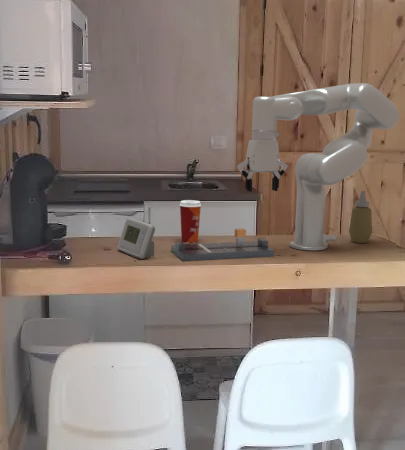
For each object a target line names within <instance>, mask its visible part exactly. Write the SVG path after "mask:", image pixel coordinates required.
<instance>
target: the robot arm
mask: <svg viewBox="0 0 405 450" xmlns="http://www.w3.org/2000/svg"><path fill="white" fill-rule="evenodd" d="M349 110H356V112H355V114H354V120H353V121H354V122H353V124H352V128H351V129H350V130H349V131H347V132H345V134H342V135H341V136H339V137H337V138H336V139H335V138H334V140H332V141H330V142H329V143H327V144H326V146H325V147H324V148H323V150H322V152H321V153H314V152H311V153H309V152H308V153H304V154H302V155H300V157H299V158H298V159H297V161H296V163H295V166H294V167H295V168H294V173H295V179H296V203H295V204H296V205H295V208H296V209H295V223H294V224H295V225H294V226H295V227H294V240H291V241H289V246H290V247H291V248H293V249H296V250H301V251H323V250H327V248H328V242H337V236H336V235H334V234H333V235H329V234H326V233H324V229H325V213H326V198H327V197H326V196H327V195H326V188H325V186H332V185H333V186H334V185H335V184H338V183H339V182H341V181H343V180H344V179H346V178H347V177H349V176H351V175H352V174H354V173H356V172H357V171H359V170H360V169H362V167H364V165H365V164H366V161H367V158H368V151H367V149H368V148H369V147H370V145H371V144H372V138H373V130H390V129H393V128H394V127H396V125H397V124H398V122H399V120H400V113H399V109H398V107H397V106H396V105H395V104H394V103H393V102H392V101H391V100H390V99H389V98H388V97H387V96H386V95H384V94H383V93H382V92H381V90H379V89H377V88H376V87H375V86H373V85H371V84H370V83H366V82H364V83H362V82H361V83H359V82H358V83H357V82H356V83H354V82H353V83H347V84H346V83H345V84H340V85H334V86H328V87H322V88H321V87H320V88H315V89H309V90H304V91H297V92H290V93H284V94H280V95H279V94H277V95H273V96H264V95H263V96H255V97H254V98H253V100H252V122H251V123H252V124H251V126H252V128H251V140H248V144H247V148H246V149H247V150H246V157H245V160H244V161H242V162H239V164H238V165H237V167H236V168H237V169H238V171H239V172H240V174H241V175H242V176H243V178H245V185H244V187H245V189H246V192H248V193H251V192H252V191H253V179H252V176H253V175H254V174H255V173H271V174H272V176H273V177H272V179H271V190H272V191H274V192H278V191H279V190H278V189H279V187H280V179H281V177H282V176H284V174H285V172H286V170H287V168H288V167H289V165H288V164H287V163H286V162H284V161H283V160H281V159H280V148H279V143H278V140H277V138H279V137H280V136H281V135H280V134H281V133H280V132H277V120H279V121H280V120H281V121H294V120H297V118H299V117H300V116H321V115H322V116H323V115H329V114H333V113H338V112H344V111H349ZM280 166H281V168H280ZM245 170H246V171H245Z"/></svg>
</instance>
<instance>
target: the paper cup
mask: <svg viewBox="0 0 405 450" xmlns="http://www.w3.org/2000/svg"><path fill="white" fill-rule="evenodd" d="M201 207H202V204H201V201H200V200H193V199H184V200H180V204H179V210H180V211H179V212H180V233H181V234H180V235H181V242H182V243H184V242H189V243H188V244H192V243H191V242H196V243H198V242H197V241H199V232H200V220H201Z"/></svg>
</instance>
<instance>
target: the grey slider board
mask: <svg viewBox="0 0 405 450" xmlns="http://www.w3.org/2000/svg"><path fill="white" fill-rule="evenodd" d="M170 247H171V251H170V252H172V253H173V254H175V256H176V257H177V258H179V259H180V260H181V261H182V262H192V261H193V260H195V261H211V260H228V259H245V258H247V259H248V258H264V257H265V258H268V257H269V258H270V257H274V256H275V249H273V248H271V247H270V246H269V240H268V239H266V238H264V237H260V238H257V240H246V241H245V240H244V246H237V245H236V241H228V242H227V241H226V242H210V243H209V242H207V243H205V242H204V243H203V242H202V243H184V242H182V241H176V242H175V244H171V246H170Z"/></svg>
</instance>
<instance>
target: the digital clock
mask: <svg viewBox="0 0 405 450" xmlns="http://www.w3.org/2000/svg"><path fill="white" fill-rule="evenodd" d="M155 231H156V227H155V225H153V224H150V223H148V222H146V221H144V220H143V221H142V220H140V219H137V218H132V217H129V218H126V220H125V222H124V225H123V228H122V231H121V233H120V234H121V235H120V237H119V241H118V244H117V248H118V250H119V251H121V252H123V254H124V253H125V254H127V255H129V256H131V257H134V258H136V259H140V260H144V259H146V258H147V257H153V256H155V241H153V238H154V234H155Z"/></svg>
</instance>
